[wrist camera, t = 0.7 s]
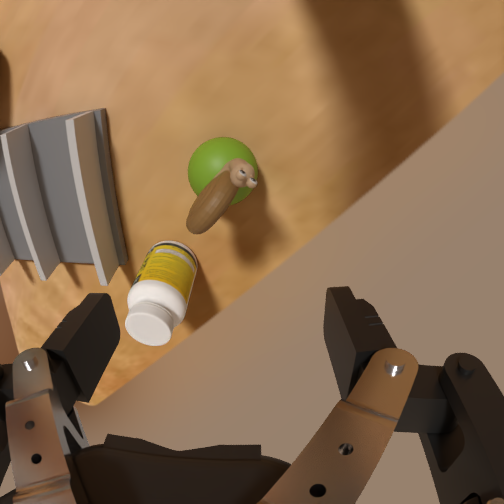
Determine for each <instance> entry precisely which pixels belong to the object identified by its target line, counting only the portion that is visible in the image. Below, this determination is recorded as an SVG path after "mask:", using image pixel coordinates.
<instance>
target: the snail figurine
mask: <svg viewBox="0 0 504 504" xmlns="http://www.w3.org/2000/svg"><path fill="white" fill-rule="evenodd" d="M257 176H258V167H257V162H256V159H255V157H254V155H253V153H252V152H251V150H250V149H249V148H248V147H247V146H246V145H245V144H243V143H242V142H240V141H238V140H236V139H233V138H228V137H219V138H214V139H211V140H208V141H206V142H205V143H203V144H202V145H200V146H199V147H198V148H197V149H196V151H195V152H194V153H193V155H192V157H191V159H190V162H189V166H188V178H189V182H190V185H191V187H192V189H193V191H194V192H195V193H196V195H197V196H198V197H197V198H196V200H195V202H194V203H193V205H192V207H191V209H190V211H189V215H188V218H187V221H186V226H187V228H188V230H189V231H190V232H191V233H193V234H202V233H204V232H206V231H207V230H208V229H210V228H211V227H212V226H213V225H214V224H215V223H216V222H217V220H218V219H219V218H220V217H221V216H222V214H223V213H224V212H225V211H226V209H227V208H228V206H229V205H233V204H236V203H238V202H240V201H242V200H243V199H245V198H246V197H247V196H248V195H249V194H250V192H251V191H252V190H253V188H255V187H256V186H257Z"/></svg>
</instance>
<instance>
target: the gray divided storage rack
mask: <svg viewBox="0 0 504 504" xmlns="http://www.w3.org/2000/svg"><path fill="white" fill-rule="evenodd" d="M14 259H22V260H34V263H35V266H36V268H37V271H38V273H39V276H40V278H41V280H45V281H47V279H48V278H49V276H50V275H51V274H52V272H53V271H54V270H55V268H56V267H57V266H58V264H59V263H60V262H74V263H93V264H95V268H96V271H97V275H98V278H99V281H100V284H101V285H104V286H108V284H109V283H110V281H111V279H112V277H113V275H114V273H115V272H116V270H117V268H118V266H119V265H126V263H127V261H128V256H127V252H126V247H125V242H124V237H123V232H122V227H121V222H120V217H119V211H118V205H117V199H116V193H115V187H114V180H113V174H112V166H111V159H110V151H109V142H108V133H107V122H106V111H105V108H103V109H96V110H90V111H84V112H78V113H72V114H67V115H61V116H56V117H51V118H47V119H42V120H38V121H33V122H29V123H25V124H21V125H17V126H13V127H10V128H6V129H2V130H0V276H1V275H2V273H3V272H4V271H5V270H6V269H7V268H8V266H9V265H10V264H11V263H12V262H13V261H14Z"/></svg>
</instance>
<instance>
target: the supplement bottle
mask: <svg viewBox="0 0 504 504" xmlns="http://www.w3.org/2000/svg"><path fill="white" fill-rule="evenodd" d="M196 272H197V260H196V257H195V255H194V253H193V252H192V251H191V250H190V249H189V248H188V247H187V246H185V245H184V244H182V243H179V242H176V241H162V242H159V243H157V244H155V245H154V246H153V247H152V248H151V249H150V251H149V252H148V254H147V256H146V258H145V260H144V262H143V264H142V266H141V268H140V270H139V272H138V274H137V276H136V279H135V281H134V283H133V285H132V287H131V289H130V291H129V294H128V299H127V302H128V307H129V313H128V315H127V318H126V321H125V327H126V329H127V331H128V333H129V334H130V335H131V336H132V337H133V338H134V339H135V340H137V341H139V342H141V343H143V344H146V345H151V346H160V345H163V344H165V343H167V342H168V341H169V340H170V338H171V336H172V332H173V329H174V327H176V326H177V325H179V324H180V323H181V322H182V320H183V319H184V317H185V314H186V311H187V306H188V302H189V298H190V295H191V291H192V287H193V283H194V279H195V276H196Z"/></svg>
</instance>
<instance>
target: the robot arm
mask: <svg viewBox="0 0 504 504" xmlns="http://www.w3.org/2000/svg"><path fill="white" fill-rule="evenodd" d="M324 339H325V343H326V346H327V349H328V353H329V356H330V360H331V363H332V366H333V370H334V373H335V377H336V380H337V384H338V388H339V391H340V394H341V398H342V399H341V400H340V401H339V402H338V403H337V404H336V406H335V407H334V408H333V410H332V412H331V413H330V414H329V416H328V417H327V419H326V420H325V422H324V423H323V424H322V426H321V427H320V428H319V430H318V431H317V432H316V434H315V435H314V436H313V438H312V439H311V440H310V442H309V443H308V444H307V446H306V447H305V448H304V450H303V451H302V452H301V453H300V455H299V456H298V457H297V458H296V460H295V461H294V462H293V463H292V465H291V464H289V463H287V462H285V461H282V460H280V459H276V458H272V457H268V456H262V455H261V445H217V446H211V447H205V448H198V449H192V450H185V451H175V450H171V449H168V448H165V447H162V446H159V445H156V444H154V443H151V442H148V441H145V440H142V439H138V438H131V437H124V436H118V435H112V434H107V437H106V439H105V442H104V444H99V445H93V446H89V443H88V441H87V438H86V435H85V432H84V430H83V427H82V424H81V421H80V418H79V415H78V412H77V410H76V408H75V406H74V404H75V401H76V400H77V401H82V402H88V403H89V401H90V399H91V397H92V395H93V393H94V391H95V389H96V387H97V385H98V383H99V380H100V378H101V376H102V374H103V372H104V370H105V368H106V367H107V365H108V363H109V361H110V359H111V357H112V355H113V353H114V351H115V349H116V347H117V345H118V343H119V340H120V328H119V324H118V321H117V318H116V314H115V311H114V307H113V304H112V300H111V297H110V296H109V294H107V293H89V294H88V295H87V296H86V298H85V299H84V300H83V301H82V302H81V304H80V305H78V306H77V307H76V308H74V309H73V310H71V311H70V312H69V313H68V314H67V315H66V316H65V317H64V319H63V320H62V322H60V324H59V325H58V326H57V328H56V329H55V330H54V331H53V333H52V334H51V335H50V336H49V338H48V339H47V340H46V342H45V343H44V344H43V346H42V347H41V348H31V349H28V350H25V351H23V352H22V353H20V354H19V355H18V356H17V357H16V358H15V360H14V362H13V364H4V365H1V364H0V486H1V483H2V481H3V478H4V476H5V473H6V471H7V469H8V466H9V464H10V461H11V464H12V470H13V475H14V481H15V486H16V489H14V490H12V491H10V492H9V493H7V494H5V495H4V496H2V497H0V504H355V502H356V501H357V499H358V497H359V496H360V494H361V493H362V491H363V489H364V487H365V486H366V484H367V482H368V480H369V479H370V477H371V475H372V473H373V471H374V469H375V468H376V466H377V464H378V462H379V460H380V458H381V456H382V454H383V452H384V450H385V448H386V446H387V444H388V442H389V440H390V438H391V436H392V433H393V431H395V432H413V433H418V434H419V437H420V439H421V442H422V445H423V448H424V452H425V455H426V458H427V461H428V464H429V467H430V470H431V474H432V477H433V480H434V484H435V487H436V490H437V494H438V498H439V502H440V504H504V396H503V395H502V393H501V391H500V389H499V388H498V386H497V384H496V383H495V381H494V380H493V378H492V377H491V375H490V373H489V372H488V370H487V369H486V367H485V366H484V364H483V363H482V362H481V361H480V360H479V359H478V358H476V357H475V356H473V355H470V354H467V353H455V354H452V355H450V356H449V357H448V358H447V359H446V361H445V363H444V366H442V367H441V366H426V365H419V364H418V362H417V360H416V359H415V357H414V356H413V355H412V354H410V353H409V352H407V351H405V350H402V349H398V348H397V347H396V345H395V344H394V342H393V340H392V338H391V337H390V334H389V333H388V331H387V329H386V328H385V326H384V324H383V322H382V321H381V319H380V317H378V314H377V312H376V310H375V308H374V307H373V306H372V305H371V304H369V303H368V302H367V301H365V300H364V299H357V300H356V299H355V297H354V295H353V294H352V291H351V289H350V288H349V287H348V286H345V287H330V288H327V292H326V303H325V315H324Z"/></svg>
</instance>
